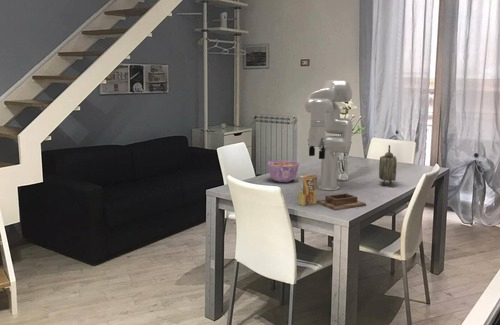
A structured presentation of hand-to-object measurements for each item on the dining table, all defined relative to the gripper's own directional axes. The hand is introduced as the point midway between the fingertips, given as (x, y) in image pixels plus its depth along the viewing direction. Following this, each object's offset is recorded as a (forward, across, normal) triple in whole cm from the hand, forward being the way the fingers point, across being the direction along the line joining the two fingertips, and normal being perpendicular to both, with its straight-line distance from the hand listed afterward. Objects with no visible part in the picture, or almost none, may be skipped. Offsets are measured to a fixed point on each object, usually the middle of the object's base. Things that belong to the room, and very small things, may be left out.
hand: (316, 157), depth 249 cm
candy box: (+25, -2, -3) cm, 26 cm away
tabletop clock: (+25, -22, +65) cm, 73 cm away
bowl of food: (+25, -55, +10) cm, 61 cm away
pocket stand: (+25, +5, +13) cm, 29 cm away
